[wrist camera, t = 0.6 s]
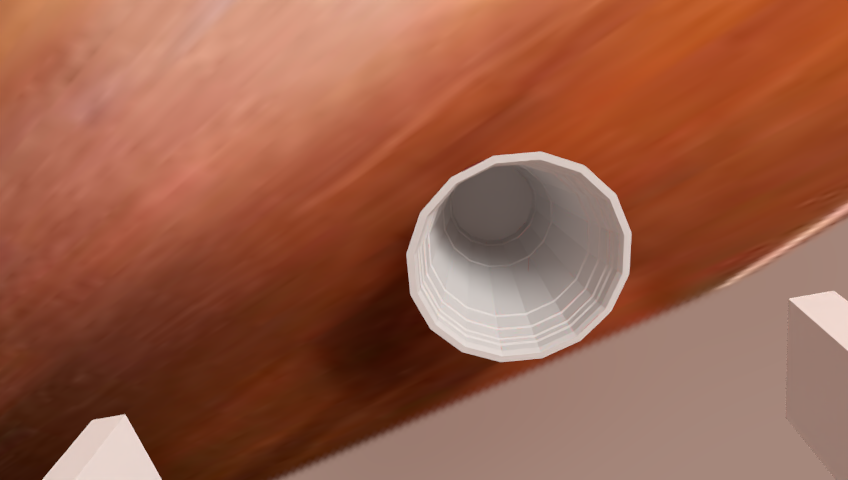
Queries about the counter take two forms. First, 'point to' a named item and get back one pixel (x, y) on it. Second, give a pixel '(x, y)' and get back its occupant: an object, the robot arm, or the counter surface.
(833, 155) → the counter surface
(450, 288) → the plastic cup
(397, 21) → the counter surface
